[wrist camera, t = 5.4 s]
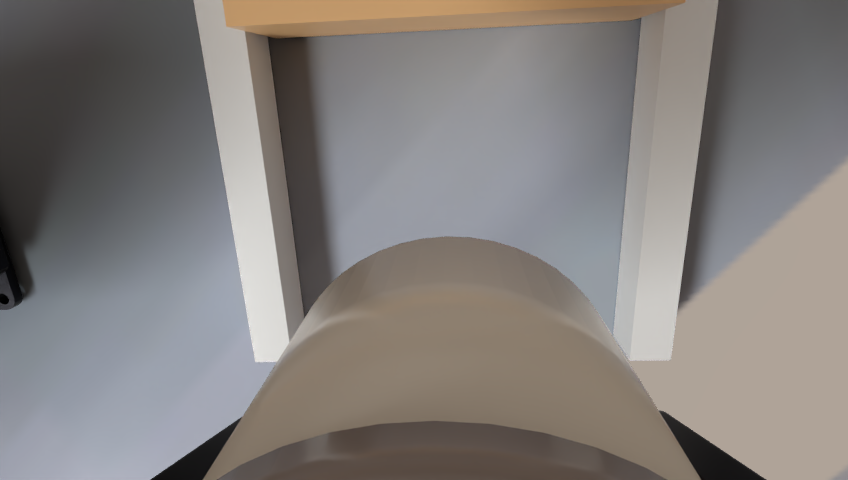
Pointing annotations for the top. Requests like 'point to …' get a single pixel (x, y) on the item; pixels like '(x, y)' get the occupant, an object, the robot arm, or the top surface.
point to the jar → (452, 380)
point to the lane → (645, 191)
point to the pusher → (422, 14)
